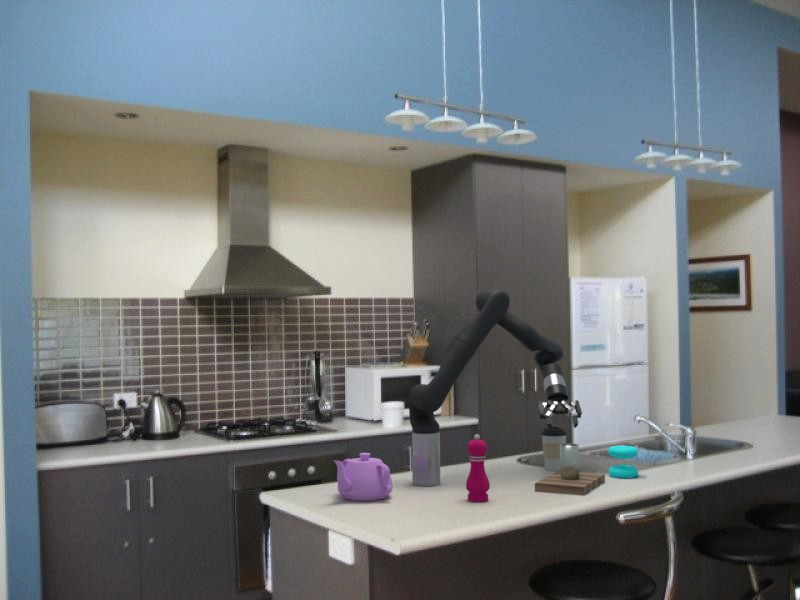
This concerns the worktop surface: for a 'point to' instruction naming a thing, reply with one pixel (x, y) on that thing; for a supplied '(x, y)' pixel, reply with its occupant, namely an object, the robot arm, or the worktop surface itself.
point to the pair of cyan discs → (623, 453)
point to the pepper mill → (477, 471)
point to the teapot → (363, 478)
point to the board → (570, 484)
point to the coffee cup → (553, 447)
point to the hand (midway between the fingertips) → (563, 426)
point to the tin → (569, 461)
